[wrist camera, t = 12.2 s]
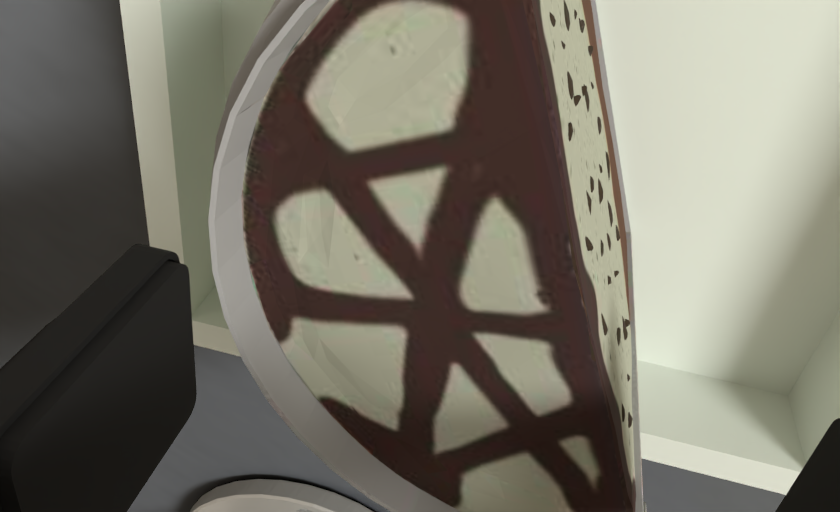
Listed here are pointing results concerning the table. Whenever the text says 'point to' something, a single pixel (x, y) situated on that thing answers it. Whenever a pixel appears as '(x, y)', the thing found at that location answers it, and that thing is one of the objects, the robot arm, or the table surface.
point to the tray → (646, 202)
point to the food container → (435, 250)
